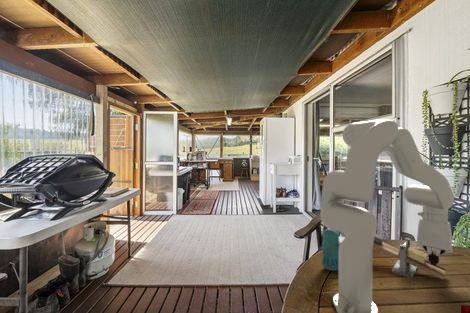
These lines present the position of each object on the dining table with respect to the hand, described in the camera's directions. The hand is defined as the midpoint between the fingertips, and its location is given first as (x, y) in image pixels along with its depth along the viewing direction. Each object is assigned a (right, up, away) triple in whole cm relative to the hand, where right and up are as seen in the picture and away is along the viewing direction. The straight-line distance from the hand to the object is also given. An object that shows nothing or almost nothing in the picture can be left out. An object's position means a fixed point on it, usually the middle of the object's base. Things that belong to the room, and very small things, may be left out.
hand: (433, 264), depth 94 cm
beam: (-7, 0, +7) cm, 10 cm away
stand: (-6, -5, +7) cm, 10 cm away
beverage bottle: (-38, -5, +6) cm, 38 cm away
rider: (-4, 0, +4) cm, 6 cm away
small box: (-29, -5, +12) cm, 32 cm away
